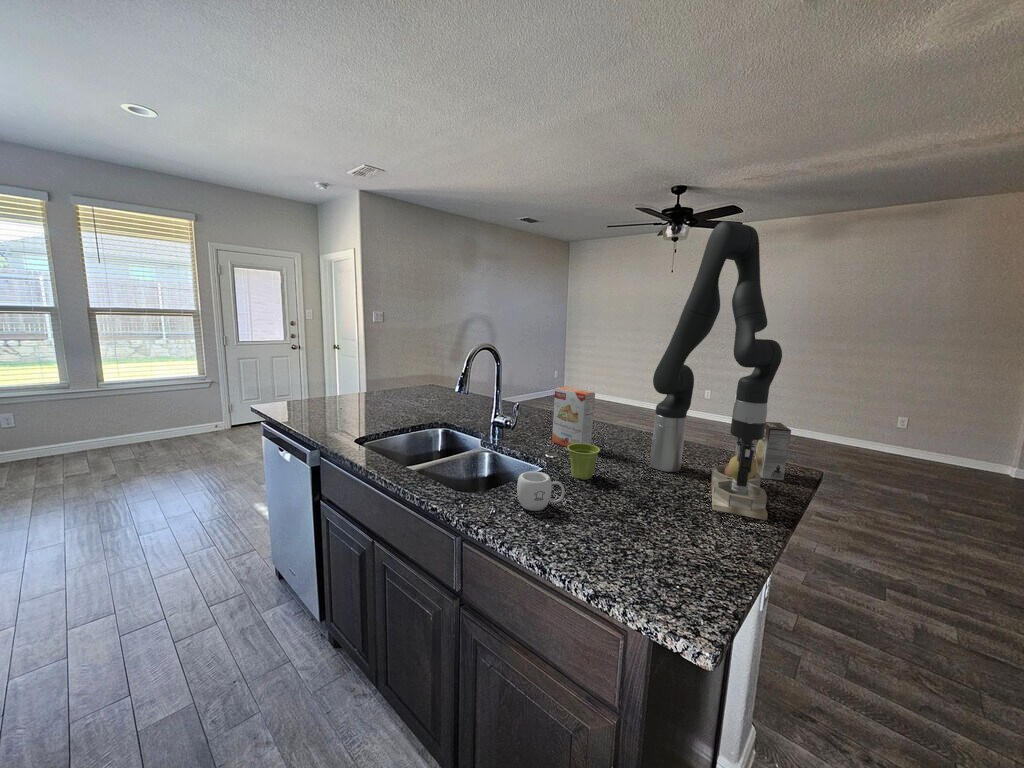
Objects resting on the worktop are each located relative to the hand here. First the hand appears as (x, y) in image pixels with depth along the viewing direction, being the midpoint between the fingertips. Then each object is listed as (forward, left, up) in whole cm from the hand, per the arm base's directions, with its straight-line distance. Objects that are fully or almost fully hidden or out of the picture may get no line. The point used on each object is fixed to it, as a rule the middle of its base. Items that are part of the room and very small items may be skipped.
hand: (740, 480), depth 113 cm
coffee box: (+11, +30, -7) cm, 33 cm away
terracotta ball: (0, +13, -2) cm, 13 cm away
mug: (-45, -26, -7) cm, 53 cm away
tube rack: (0, +6, -7) cm, 9 cm away
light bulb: (0, 0, -3) cm, 3 cm away
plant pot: (-41, -1, -7) cm, 42 cm away
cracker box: (-52, +26, -7) cm, 59 cm away
